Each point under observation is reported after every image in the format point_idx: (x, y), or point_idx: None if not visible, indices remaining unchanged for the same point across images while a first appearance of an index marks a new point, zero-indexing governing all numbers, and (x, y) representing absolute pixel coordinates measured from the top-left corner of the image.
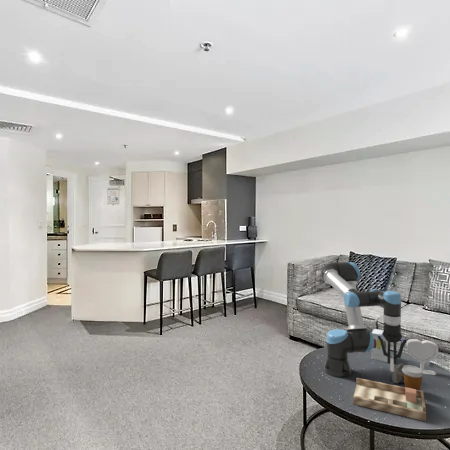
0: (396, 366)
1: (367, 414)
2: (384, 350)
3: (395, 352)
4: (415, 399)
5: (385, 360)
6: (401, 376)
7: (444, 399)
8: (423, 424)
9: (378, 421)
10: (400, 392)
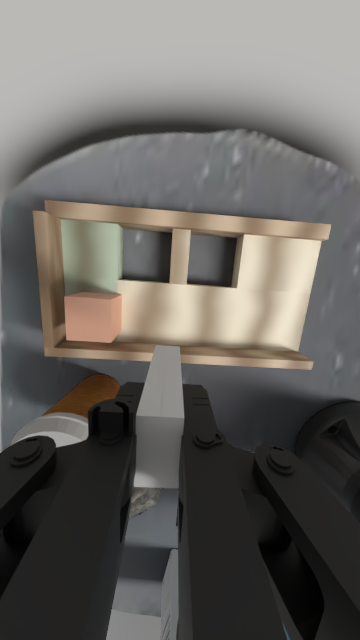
0: (140, 500)
1: (265, 173)
2: (356, 577)
3: (44, 565)
4: (80, 293)
5: (177, 555)
6: None
7: (3, 384)
8: (71, 183)
9: (228, 136)
10: (138, 344)
